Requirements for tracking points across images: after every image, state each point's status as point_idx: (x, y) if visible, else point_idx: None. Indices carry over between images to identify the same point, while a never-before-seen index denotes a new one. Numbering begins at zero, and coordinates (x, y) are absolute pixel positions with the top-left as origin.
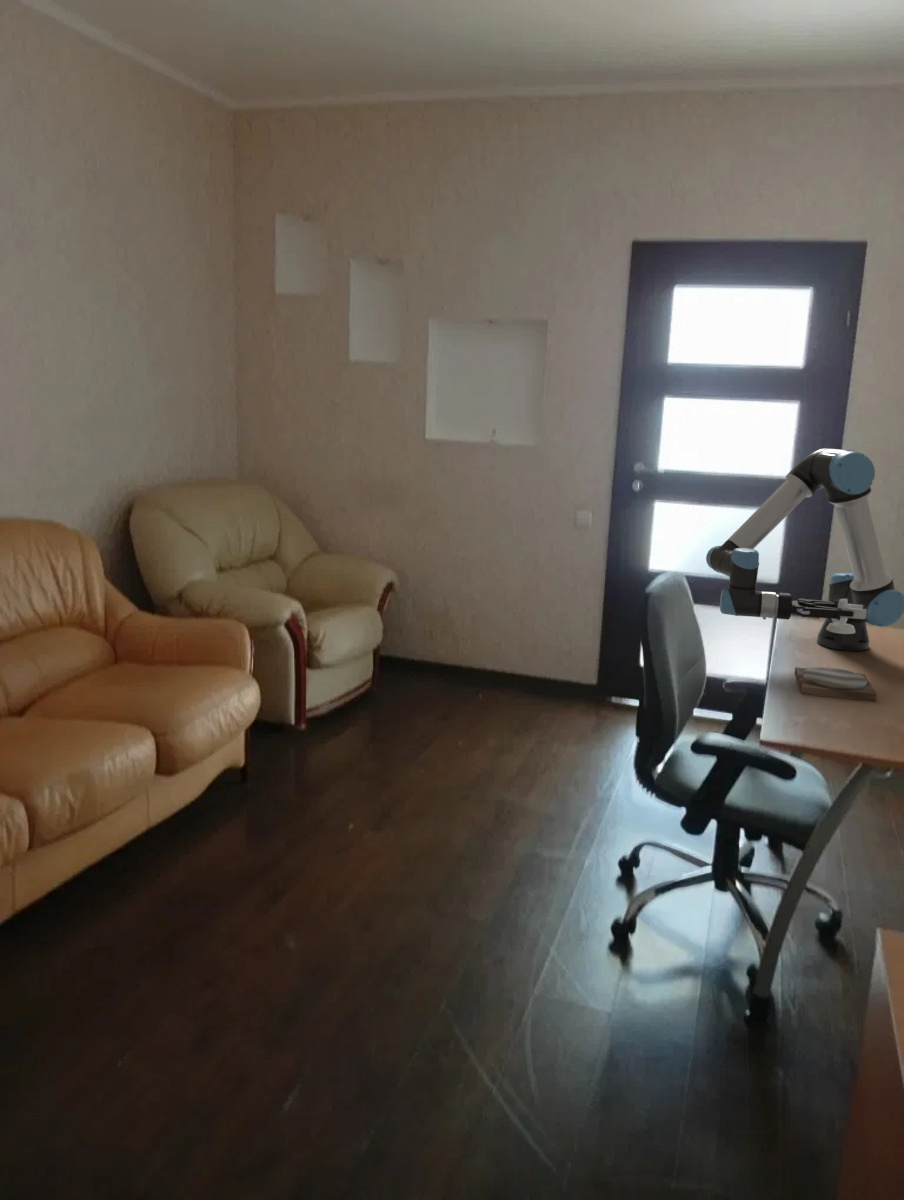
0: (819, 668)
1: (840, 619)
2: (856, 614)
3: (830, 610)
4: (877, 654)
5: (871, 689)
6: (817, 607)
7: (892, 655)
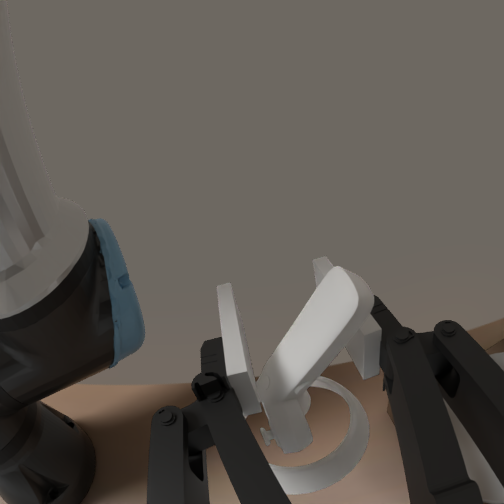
0: (477, 482)
1: (304, 405)
2: None
3: (486, 356)
4: (109, 412)
5: (501, 345)
6: (460, 464)
7: (112, 387)
